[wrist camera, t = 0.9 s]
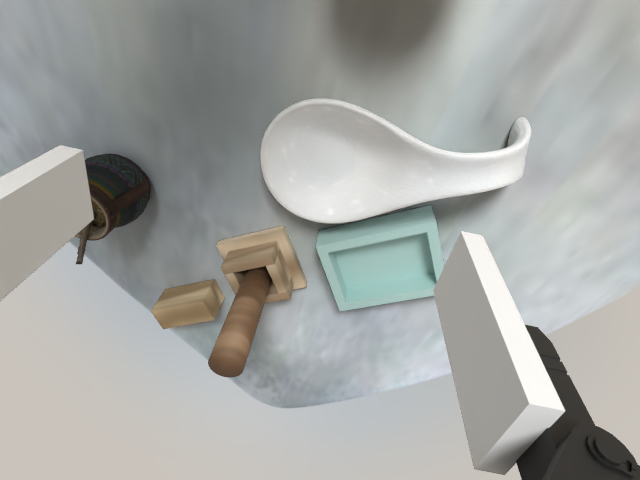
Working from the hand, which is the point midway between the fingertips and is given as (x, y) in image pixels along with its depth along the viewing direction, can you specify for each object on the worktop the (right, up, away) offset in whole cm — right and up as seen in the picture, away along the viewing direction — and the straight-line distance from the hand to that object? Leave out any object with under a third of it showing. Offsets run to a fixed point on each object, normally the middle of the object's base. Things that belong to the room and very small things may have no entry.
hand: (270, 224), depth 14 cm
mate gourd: (-19, +6, +28) cm, 34 cm away
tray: (+9, -2, +29) cm, 31 cm away
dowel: (-5, -4, +31) cm, 31 cm away
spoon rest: (+8, +8, +23) cm, 26 cm away
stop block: (-14, -7, +35) cm, 39 cm away
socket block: (-5, -3, +32) cm, 32 cm away
